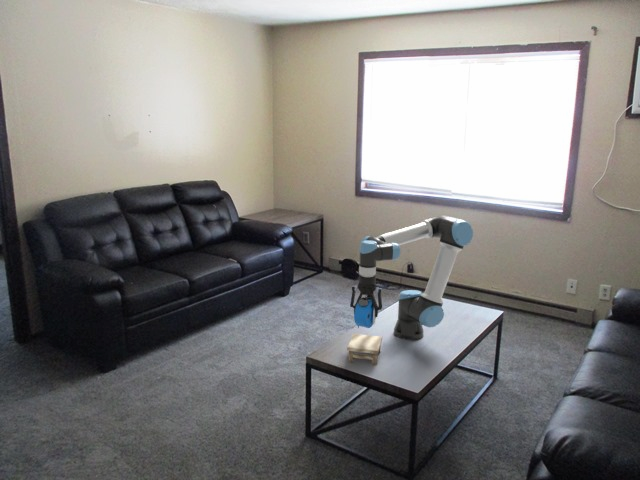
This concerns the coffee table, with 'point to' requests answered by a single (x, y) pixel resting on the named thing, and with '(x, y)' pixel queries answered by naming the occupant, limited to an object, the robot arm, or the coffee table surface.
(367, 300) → the alarm clock
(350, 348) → the stool
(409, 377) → the coffee table surface
